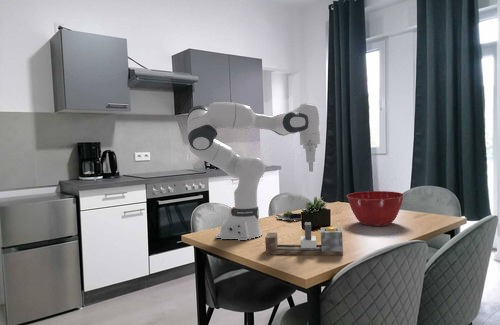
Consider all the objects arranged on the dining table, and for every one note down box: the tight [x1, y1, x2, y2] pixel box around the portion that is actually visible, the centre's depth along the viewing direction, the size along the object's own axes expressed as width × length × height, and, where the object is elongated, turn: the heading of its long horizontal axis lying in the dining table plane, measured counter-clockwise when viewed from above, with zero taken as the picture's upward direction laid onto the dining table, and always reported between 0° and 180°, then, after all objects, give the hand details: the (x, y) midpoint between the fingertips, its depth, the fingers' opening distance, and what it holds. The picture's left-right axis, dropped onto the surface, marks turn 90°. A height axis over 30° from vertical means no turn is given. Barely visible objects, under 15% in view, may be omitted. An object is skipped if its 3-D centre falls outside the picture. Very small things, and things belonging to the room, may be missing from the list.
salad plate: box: [275, 211, 302, 222], centre depth 212 cm, size 19×18×5 cm
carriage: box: [300, 221, 317, 248], centre depth 144 cm, size 6×7×9 cm
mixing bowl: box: [346, 190, 405, 227], centre depth 188 cm, size 28×28×16 cm
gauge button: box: [325, 226, 336, 231], centre depth 142 cm, size 4×4×4 cm
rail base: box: [264, 226, 344, 256], centre depth 144 cm, size 30×8×9 cm, turn 80°
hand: (311, 171), depth 160 cm, fingers closed
